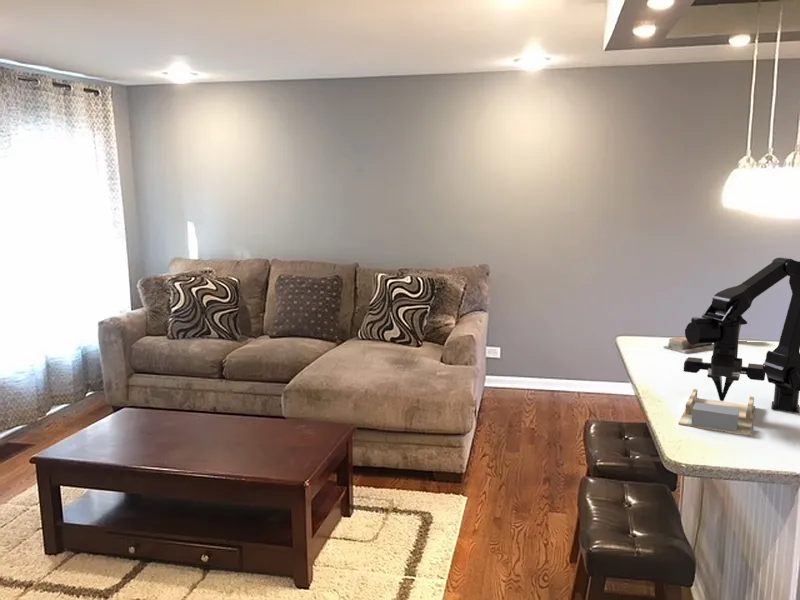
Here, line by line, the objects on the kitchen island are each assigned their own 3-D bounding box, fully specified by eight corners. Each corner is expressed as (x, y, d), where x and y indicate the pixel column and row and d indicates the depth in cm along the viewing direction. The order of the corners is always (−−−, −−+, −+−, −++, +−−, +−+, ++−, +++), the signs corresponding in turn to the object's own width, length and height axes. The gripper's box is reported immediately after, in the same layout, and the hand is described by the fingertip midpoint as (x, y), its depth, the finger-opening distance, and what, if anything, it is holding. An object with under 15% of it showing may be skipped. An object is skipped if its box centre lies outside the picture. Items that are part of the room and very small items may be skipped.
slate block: (694, 417, 174) (695, 402, 174) (738, 423, 169) (739, 408, 169) (691, 424, 169) (692, 408, 169) (736, 431, 164) (737, 415, 164)
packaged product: (686, 341, 241) (663, 336, 250) (685, 355, 242) (663, 349, 251) (720, 336, 249) (697, 331, 258) (719, 349, 250) (696, 344, 259)
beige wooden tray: (691, 398, 191) (691, 388, 191) (755, 407, 184) (756, 397, 183) (678, 424, 171) (679, 413, 170) (749, 435, 163) (750, 424, 163)
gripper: (682, 344, 172) (678, 404, 175) (766, 352, 163) (761, 415, 166) (688, 335, 182) (684, 392, 184) (767, 343, 172) (763, 402, 175)
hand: (721, 400), depth 177 cm, fingers closed
